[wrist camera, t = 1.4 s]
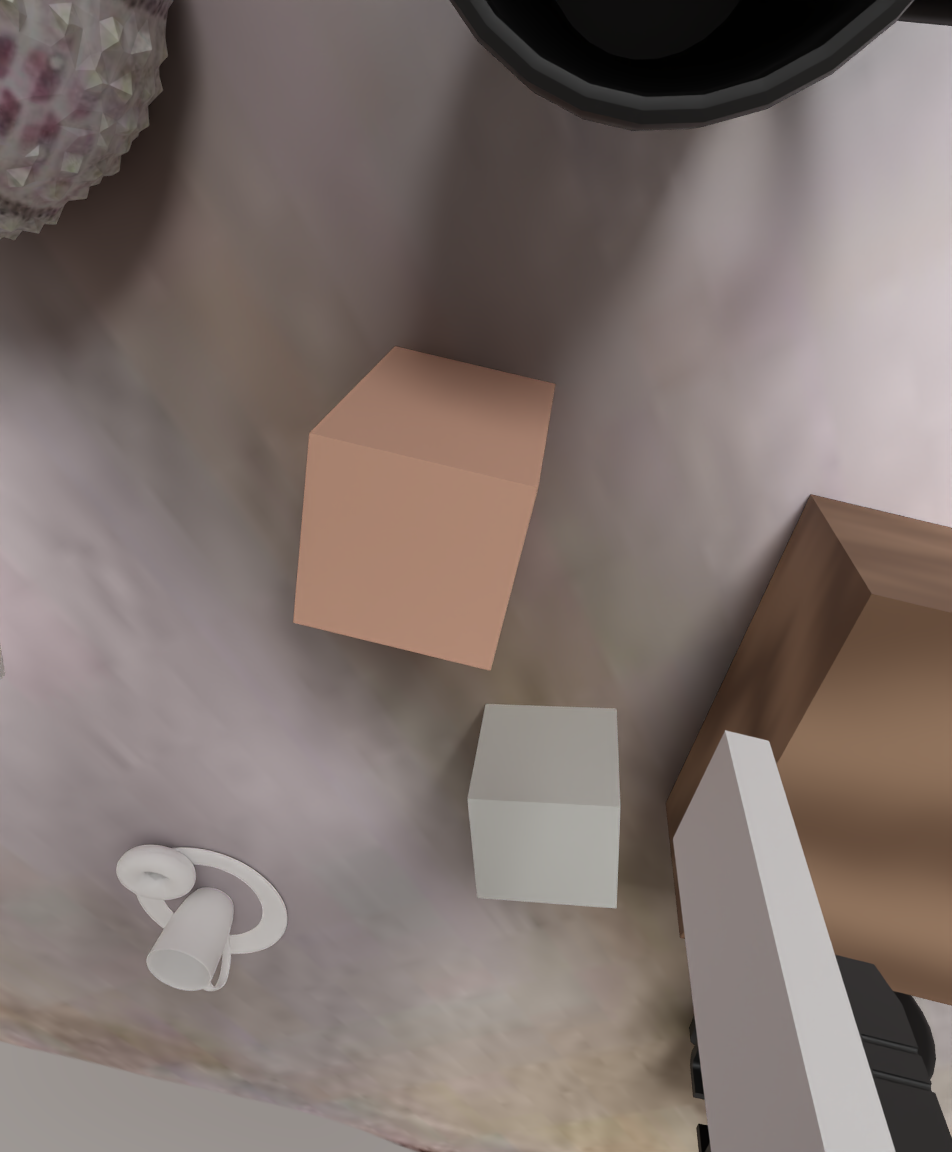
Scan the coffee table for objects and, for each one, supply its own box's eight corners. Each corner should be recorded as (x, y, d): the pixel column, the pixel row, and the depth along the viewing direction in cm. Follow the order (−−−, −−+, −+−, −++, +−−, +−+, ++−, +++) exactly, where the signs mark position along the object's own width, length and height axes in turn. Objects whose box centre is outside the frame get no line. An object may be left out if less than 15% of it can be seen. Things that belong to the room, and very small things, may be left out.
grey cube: (486, 702, 29) (467, 798, 25) (616, 707, 29) (620, 806, 24) (493, 796, 32) (477, 898, 28) (613, 802, 31) (616, 908, 27)
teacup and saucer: (111, 825, 37) (60, 897, 33) (265, 830, 35) (228, 906, 32) (167, 940, 41) (127, 1015, 37) (305, 948, 40) (277, 1027, 36)
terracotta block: (395, 346, 23) (309, 432, 16) (555, 383, 23) (538, 487, 16) (374, 493, 25) (292, 622, 19) (518, 527, 25) (490, 670, 18)
